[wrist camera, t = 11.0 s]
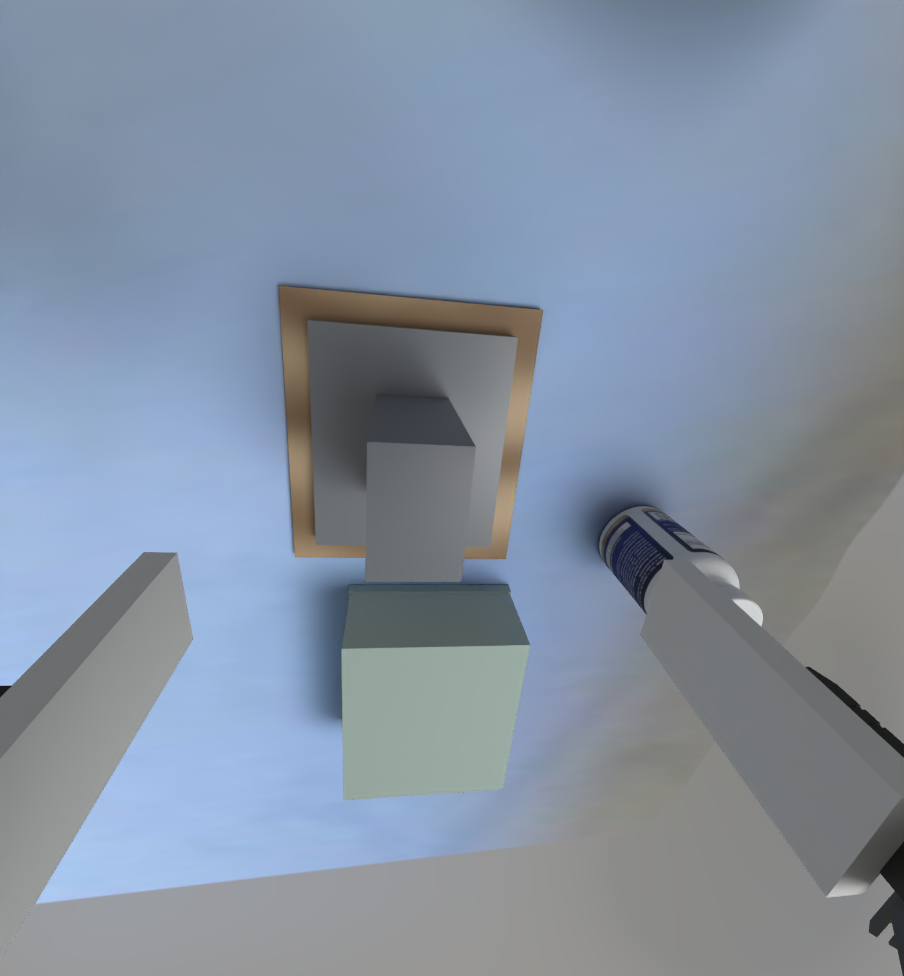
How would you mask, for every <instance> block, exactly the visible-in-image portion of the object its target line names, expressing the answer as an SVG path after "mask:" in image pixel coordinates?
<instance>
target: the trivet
mask: <svg viewBox="0 0 904 976" xmlns="http://www.w3.org/2000/svg"><path fill="white" fill-rule="evenodd" d="M279 298H280V315H281V332H282V349H283V365H284V382H285V399H286V416H287V433H288V450H289V467H290V484H291V501H292V518H293V535H294V551H295V557H329V558H366V545H316V534H315V508H314V481H313V455H312V428H311V402H310V376H309V349H308V323H307V320H323V321H335V322H347V323H359V324H372V325H384V326H396V327H408V328H420V329H432V330H444V331H457V332H469V333H481V334H493V335H505V336H515V337H518V342H517V350H516V357H515V365H514V372H513V380H512V387H511V395H510V402H509V410H508V417H507V425H506V432H505V440H504V447H503V455H502V462H501V470H500V477H499V485H498V493H497V500H496V508H495V515H494V523H493V530H492V538H491V545H490V547H465V552H464V559H506V554H507V547H508V541H509V534H510V528H511V521H512V514H513V508H514V501H515V494H516V488H517V481H518V474H519V468H520V461H521V454H522V448H523V441H524V434H525V428H526V421H527V414H528V408H529V401H530V394H531V388H532V381H533V374H534V368H535V361H536V354H537V348H538V341H539V334H540V328H541V321H542V314H543V310H537V309H527V308H516V307H505V306H494V305H483V304H472V303H461V302H450V301H440V300H429V299H418V298H407V297H396V296H385V295H374V294H363V293H352V292H342V291H331V290H320V289H309V288H298V287H287V286H279Z"/></svg>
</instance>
